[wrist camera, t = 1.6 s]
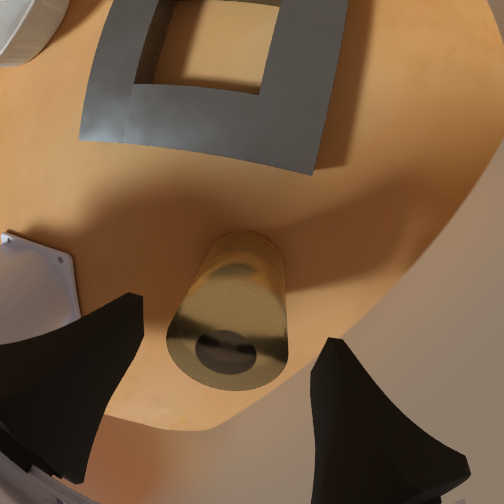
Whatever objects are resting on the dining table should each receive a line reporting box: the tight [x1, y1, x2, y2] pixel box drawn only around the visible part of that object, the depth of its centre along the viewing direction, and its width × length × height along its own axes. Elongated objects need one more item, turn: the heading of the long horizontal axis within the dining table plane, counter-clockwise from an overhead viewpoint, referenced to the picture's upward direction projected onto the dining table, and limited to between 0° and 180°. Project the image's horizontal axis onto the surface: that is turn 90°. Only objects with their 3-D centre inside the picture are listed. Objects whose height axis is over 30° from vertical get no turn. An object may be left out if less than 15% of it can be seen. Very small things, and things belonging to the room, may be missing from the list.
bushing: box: [166, 230, 288, 391], centre depth 12 cm, size 4×4×7 cm
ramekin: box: [0, 0, 70, 67], centre depth 7 cm, size 9×9×4 cm
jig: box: [79, 0, 349, 176], centre depth 10 cm, size 12×12×2 cm
